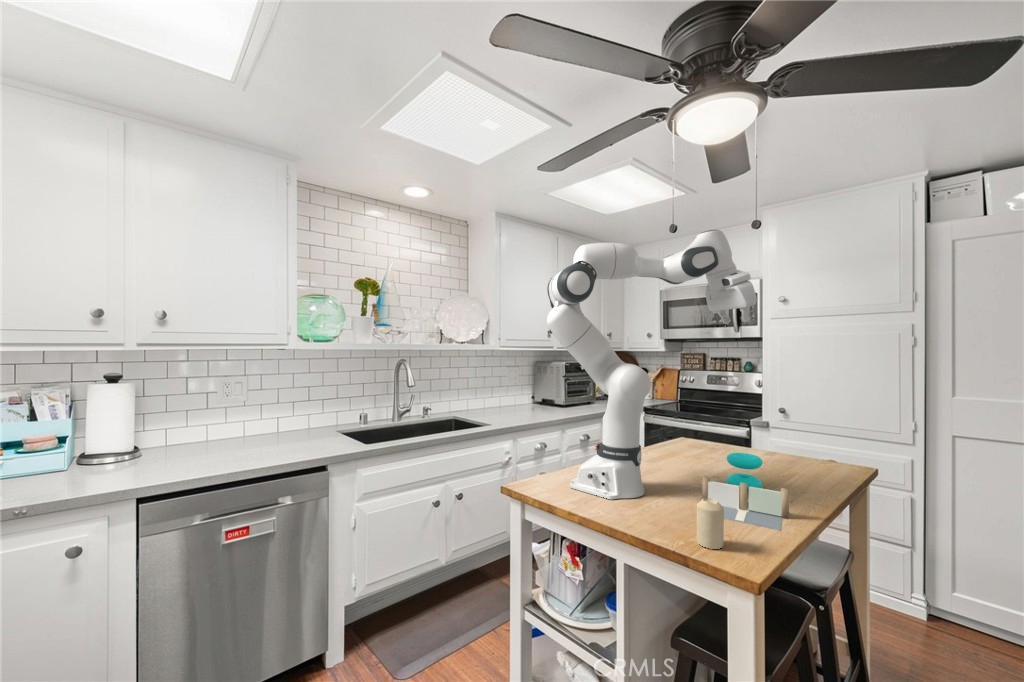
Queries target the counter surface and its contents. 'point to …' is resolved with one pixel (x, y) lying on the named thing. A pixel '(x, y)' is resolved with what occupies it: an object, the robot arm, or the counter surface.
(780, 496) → the fence panel
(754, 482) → the donuts
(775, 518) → the board
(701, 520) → the candle
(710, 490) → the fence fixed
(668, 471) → the counter surface
